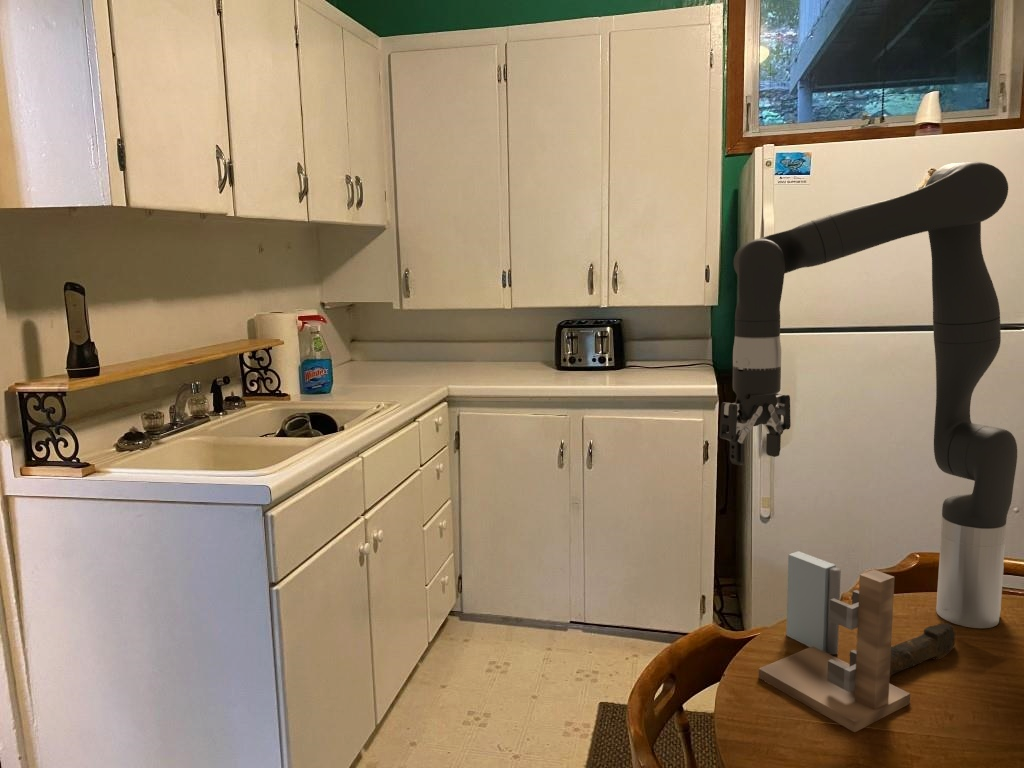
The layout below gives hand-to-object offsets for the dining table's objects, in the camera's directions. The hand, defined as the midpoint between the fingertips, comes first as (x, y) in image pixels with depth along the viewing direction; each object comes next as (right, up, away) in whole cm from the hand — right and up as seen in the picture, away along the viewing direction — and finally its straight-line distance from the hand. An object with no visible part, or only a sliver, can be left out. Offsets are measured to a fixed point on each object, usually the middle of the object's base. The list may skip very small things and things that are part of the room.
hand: (755, 459), depth 128 cm
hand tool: (+20, -30, -11) cm, 38 cm away
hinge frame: (+5, -31, -18) cm, 36 cm away
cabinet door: (+7, -29, -4) cm, 30 cm away
